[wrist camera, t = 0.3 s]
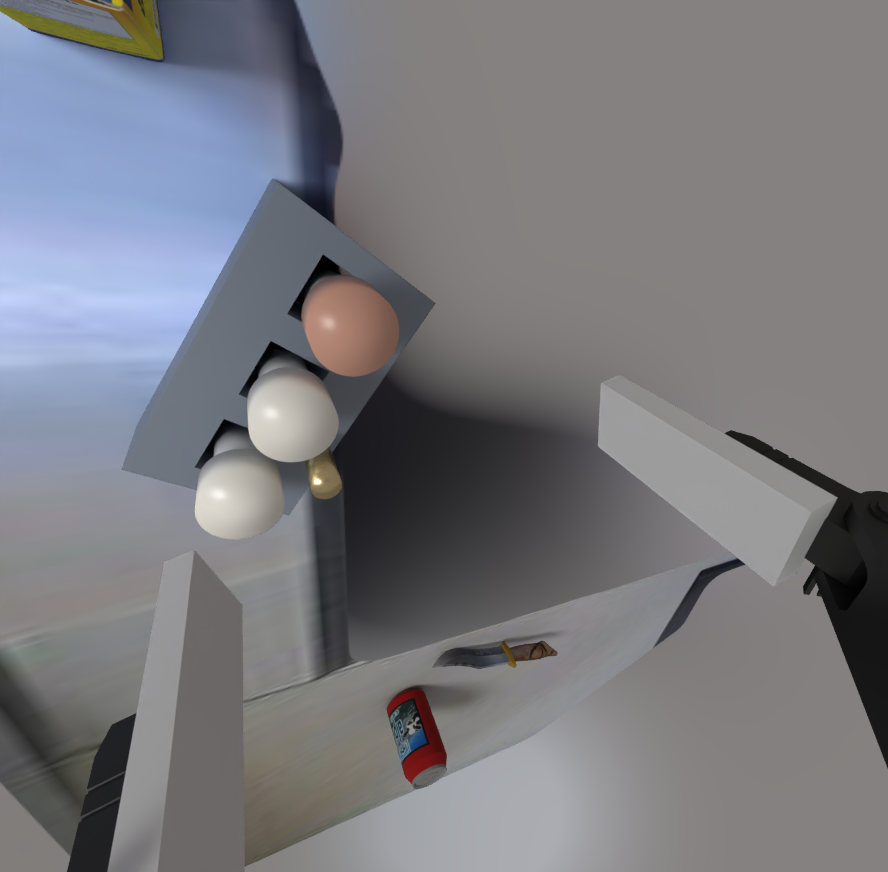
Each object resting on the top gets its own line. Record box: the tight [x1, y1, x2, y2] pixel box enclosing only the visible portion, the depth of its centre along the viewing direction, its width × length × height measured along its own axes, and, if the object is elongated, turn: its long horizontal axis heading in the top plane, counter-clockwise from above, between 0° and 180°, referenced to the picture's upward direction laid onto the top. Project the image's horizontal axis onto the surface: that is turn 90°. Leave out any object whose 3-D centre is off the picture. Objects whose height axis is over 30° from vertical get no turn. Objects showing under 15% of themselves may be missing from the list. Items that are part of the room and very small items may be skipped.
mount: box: [122, 179, 435, 515], centre depth 32 cm, size 12×21×6 cm, turn 140°
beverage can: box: [387, 689, 447, 789], centre depth 67 cm, size 7×7×12 cm
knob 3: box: [301, 271, 399, 377], centre depth 26 cm, size 5×5×8 cm
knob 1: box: [195, 422, 285, 539], centre depth 29 cm, size 5×5×8 cm
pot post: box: [305, 446, 342, 499], centre depth 30 cm, size 2×2×6 cm
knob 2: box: [247, 349, 339, 462], centre depth 28 cm, size 5×5×8 cm
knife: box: [433, 641, 557, 669], centre depth 71 cm, size 25×1×5 cm, turn 70°
